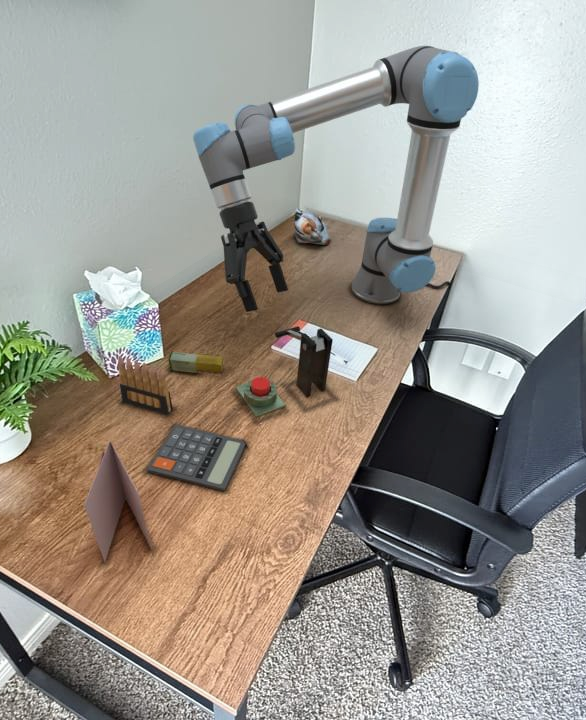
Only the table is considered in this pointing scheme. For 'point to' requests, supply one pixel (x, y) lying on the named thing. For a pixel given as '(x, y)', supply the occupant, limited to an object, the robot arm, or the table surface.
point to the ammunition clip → (144, 387)
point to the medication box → (195, 362)
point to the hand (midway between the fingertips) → (268, 300)
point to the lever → (294, 334)
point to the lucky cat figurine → (310, 228)
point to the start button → (260, 386)
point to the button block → (261, 399)
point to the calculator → (198, 457)
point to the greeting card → (112, 499)
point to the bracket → (313, 363)
